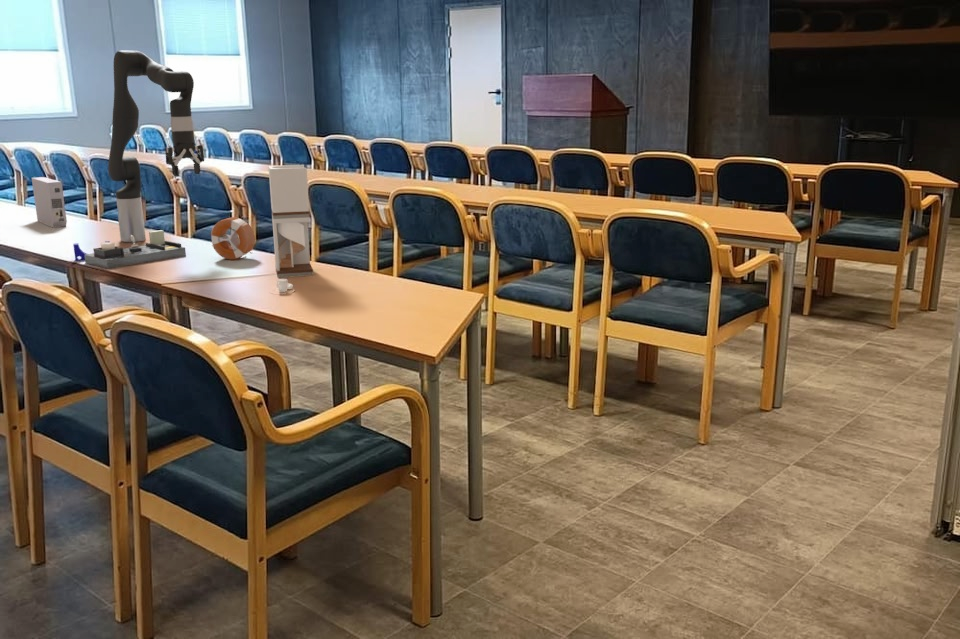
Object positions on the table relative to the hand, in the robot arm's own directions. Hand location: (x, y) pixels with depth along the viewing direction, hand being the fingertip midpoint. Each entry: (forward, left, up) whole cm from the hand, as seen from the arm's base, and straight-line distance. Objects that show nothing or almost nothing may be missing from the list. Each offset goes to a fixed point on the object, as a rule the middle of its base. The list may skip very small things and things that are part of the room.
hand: (186, 175), depth 322 cm
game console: (-114, -1, -29) cm, 118 cm away
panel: (-8, -19, -29) cm, 35 cm away
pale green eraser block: (-12, -8, -26) cm, 29 cm away
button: (-8, -29, -24) cm, 38 cm away
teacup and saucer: (+76, -14, -30) cm, 83 cm away
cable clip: (-22, -28, -29) cm, 46 cm away
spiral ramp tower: (+56, +2, -29) cm, 63 cm away
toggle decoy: (-8, -19, -24) cm, 32 cm away
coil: (+19, +4, -29) cm, 35 cm away
